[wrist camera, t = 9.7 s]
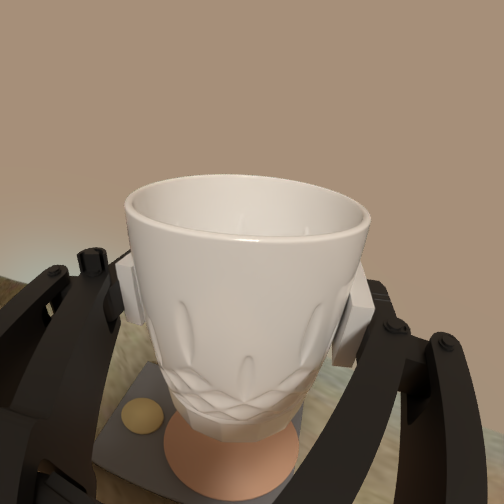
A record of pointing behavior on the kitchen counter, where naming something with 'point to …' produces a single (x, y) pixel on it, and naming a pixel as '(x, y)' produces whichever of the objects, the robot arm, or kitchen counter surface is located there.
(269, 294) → the white cup
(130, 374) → the kitchen counter surface
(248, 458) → the board
